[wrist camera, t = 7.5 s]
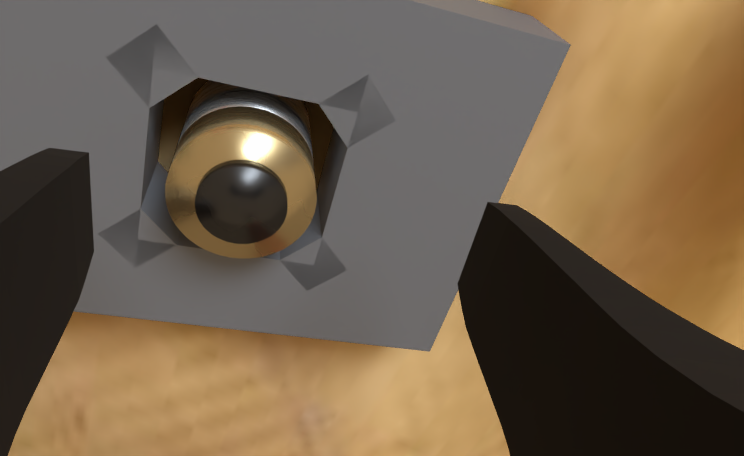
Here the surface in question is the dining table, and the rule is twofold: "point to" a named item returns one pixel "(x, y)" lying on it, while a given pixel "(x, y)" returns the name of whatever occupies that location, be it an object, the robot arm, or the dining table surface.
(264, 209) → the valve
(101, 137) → the socket plate
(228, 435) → the dining table surface
